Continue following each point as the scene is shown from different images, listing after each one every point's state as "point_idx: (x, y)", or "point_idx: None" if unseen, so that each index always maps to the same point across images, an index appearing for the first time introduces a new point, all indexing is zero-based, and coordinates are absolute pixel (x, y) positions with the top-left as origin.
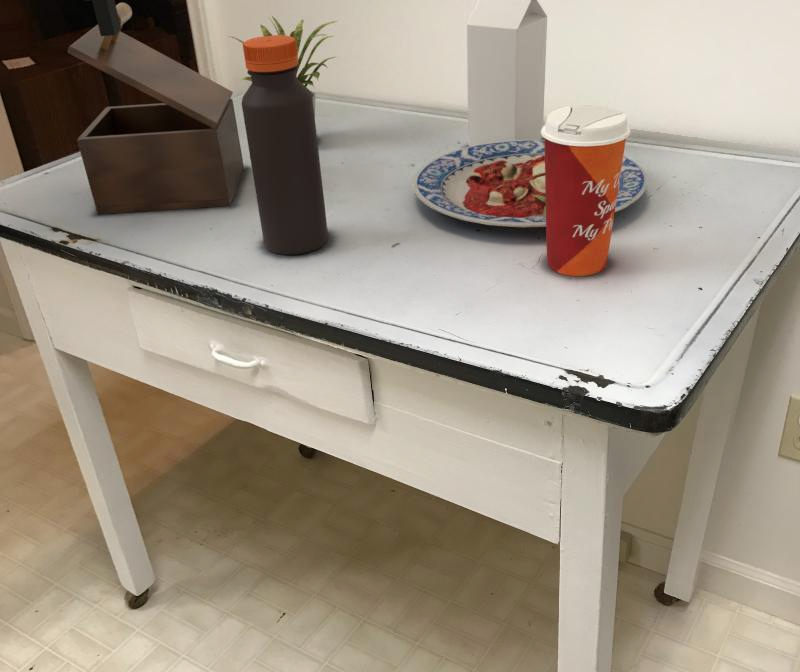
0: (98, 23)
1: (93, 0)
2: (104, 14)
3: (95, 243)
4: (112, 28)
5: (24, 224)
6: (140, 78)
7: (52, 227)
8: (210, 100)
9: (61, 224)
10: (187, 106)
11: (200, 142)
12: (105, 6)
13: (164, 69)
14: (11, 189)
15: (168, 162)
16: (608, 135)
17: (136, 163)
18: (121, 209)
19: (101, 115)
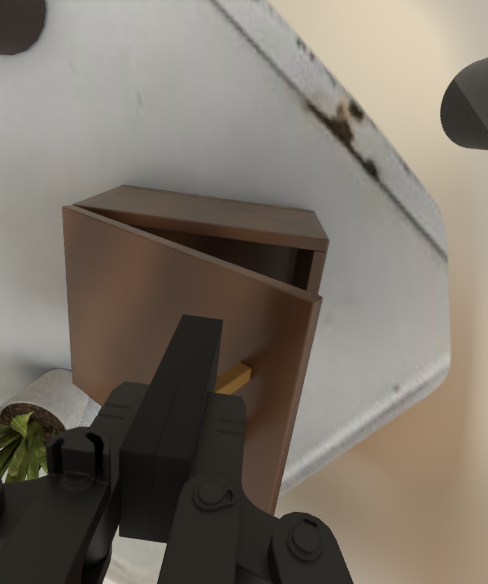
0: (217, 337)
1: (205, 374)
2: (187, 345)
3: (308, 93)
4: (181, 323)
5: (419, 206)
6: (170, 273)
7: (377, 180)
8: (83, 305)
9: (365, 188)
10: (98, 225)
11: (112, 205)
12: (172, 355)
13: (147, 374)
14: (443, 346)
15: (182, 207)
16: None
17: (235, 215)
18: (278, 207)
19: None
